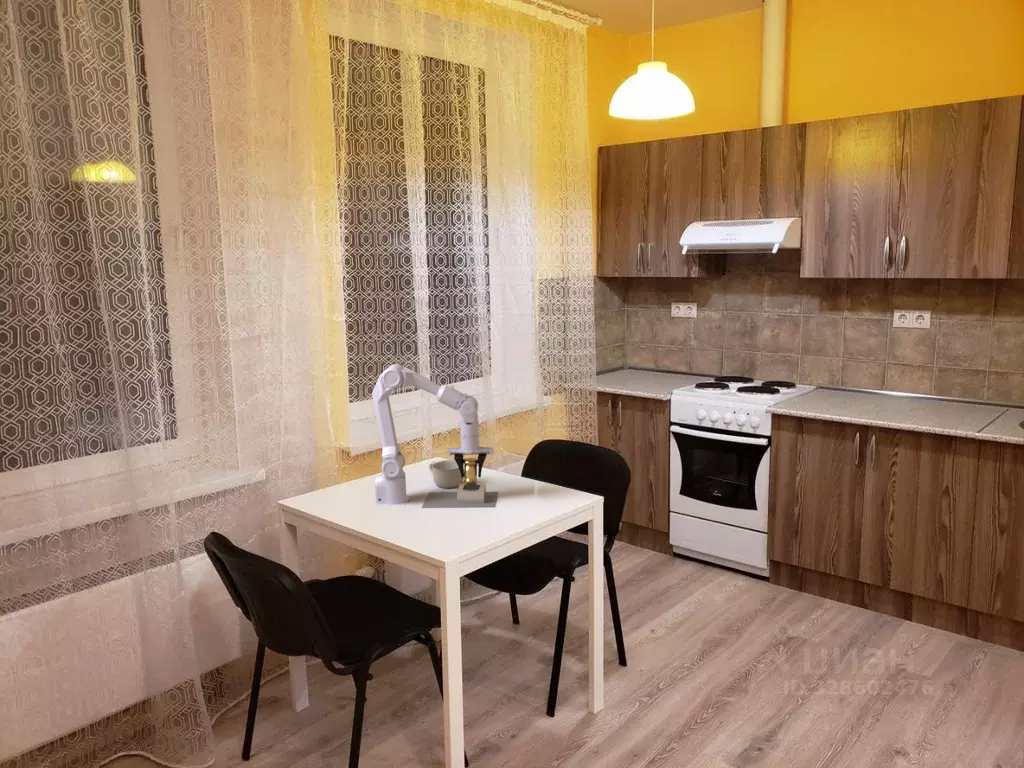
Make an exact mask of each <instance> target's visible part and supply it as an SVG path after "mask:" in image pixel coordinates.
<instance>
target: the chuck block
mask: <svg viewBox="0 0 1024 768" xmlns="http://www.w3.org/2000/svg"><path fill="white" fill-rule="evenodd" d="M486 484H487V483H486V482H485V483H484V482H481V483H479V482H478V483H477V485H476V486H465V485H464V483H461V484H459V486H457V491H456V492H457V504H481V503H484V501H485V497H486V492H487V488H486V486H487V485H486Z"/></svg>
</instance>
